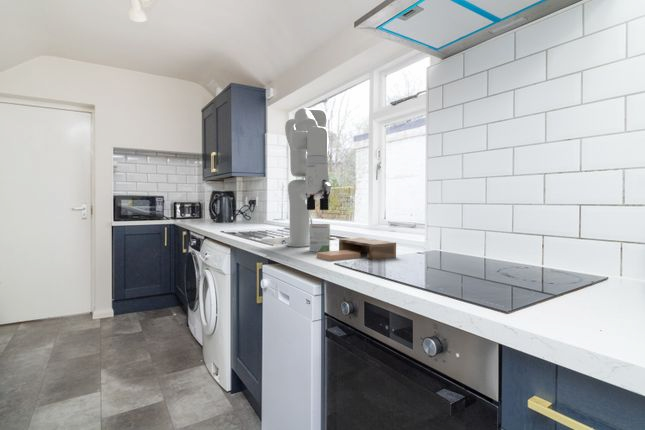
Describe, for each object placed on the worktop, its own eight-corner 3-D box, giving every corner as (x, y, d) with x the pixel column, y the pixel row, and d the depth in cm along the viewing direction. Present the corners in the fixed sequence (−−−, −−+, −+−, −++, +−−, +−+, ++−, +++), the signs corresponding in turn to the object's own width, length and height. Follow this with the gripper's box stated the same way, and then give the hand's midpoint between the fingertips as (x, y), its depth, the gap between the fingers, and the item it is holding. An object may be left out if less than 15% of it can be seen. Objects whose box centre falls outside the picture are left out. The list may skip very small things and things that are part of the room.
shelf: (338, 252, 146) (339, 238, 145) (359, 250, 152) (360, 237, 152) (373, 259, 127) (373, 244, 127) (395, 257, 133) (396, 242, 133)
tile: (316, 258, 132) (316, 252, 132) (346, 255, 140) (346, 249, 140) (330, 262, 125) (330, 255, 124) (360, 258, 132) (360, 252, 132)
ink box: (309, 251, 148) (309, 223, 147) (310, 249, 153) (310, 223, 153) (329, 251, 147) (329, 224, 147) (330, 250, 152) (330, 223, 152)
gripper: (297, 164, 130) (297, 209, 131) (319, 158, 115) (319, 210, 116) (315, 165, 134) (315, 209, 134) (339, 160, 119) (339, 210, 119)
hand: (317, 209), depth 125 cm, fingers open, 9 cm apart
